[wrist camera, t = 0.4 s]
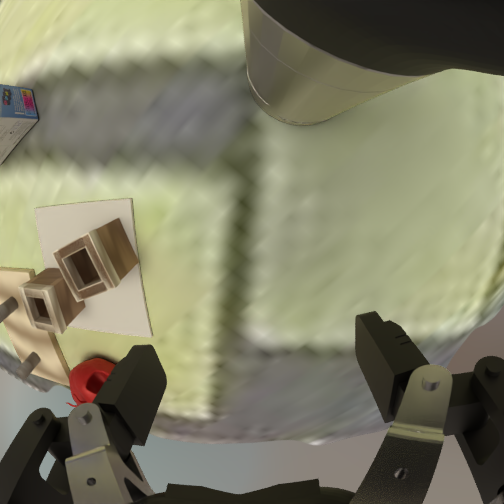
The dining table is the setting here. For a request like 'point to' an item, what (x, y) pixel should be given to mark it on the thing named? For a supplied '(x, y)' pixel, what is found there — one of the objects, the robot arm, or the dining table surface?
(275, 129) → the dining table surface
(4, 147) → the ink cartridge box
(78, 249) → the sleeve
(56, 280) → the sleeve
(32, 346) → the pin board
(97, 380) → the pomegranate
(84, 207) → the mat
